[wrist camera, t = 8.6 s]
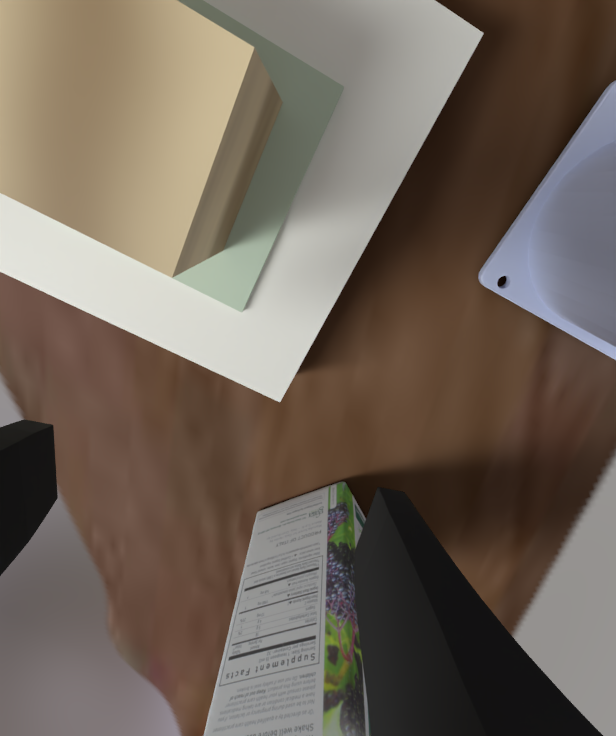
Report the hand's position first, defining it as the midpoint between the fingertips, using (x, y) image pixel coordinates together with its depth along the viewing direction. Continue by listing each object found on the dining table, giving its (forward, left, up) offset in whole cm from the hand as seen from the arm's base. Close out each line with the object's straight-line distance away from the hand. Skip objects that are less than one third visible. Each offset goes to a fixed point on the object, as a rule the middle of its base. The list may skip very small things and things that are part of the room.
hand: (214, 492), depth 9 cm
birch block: (+6, -6, -8) cm, 11 cm away
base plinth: (+6, -5, -10) cm, 13 cm away
